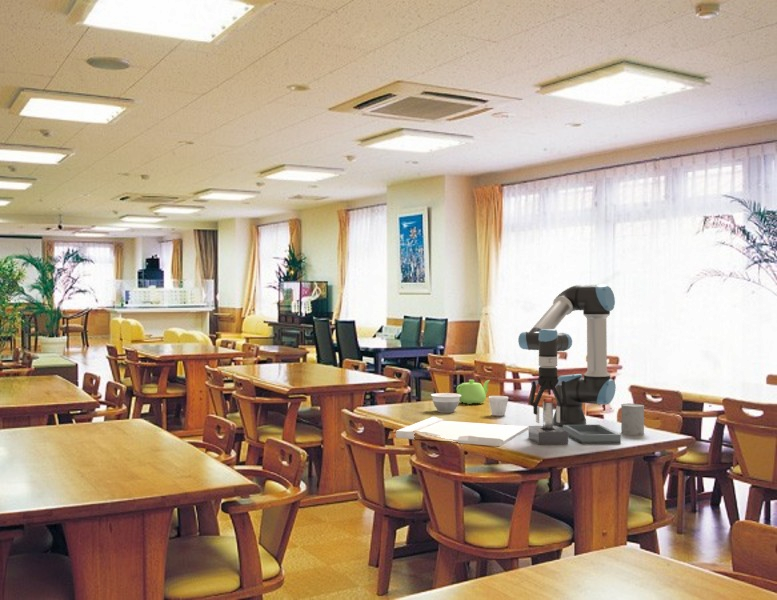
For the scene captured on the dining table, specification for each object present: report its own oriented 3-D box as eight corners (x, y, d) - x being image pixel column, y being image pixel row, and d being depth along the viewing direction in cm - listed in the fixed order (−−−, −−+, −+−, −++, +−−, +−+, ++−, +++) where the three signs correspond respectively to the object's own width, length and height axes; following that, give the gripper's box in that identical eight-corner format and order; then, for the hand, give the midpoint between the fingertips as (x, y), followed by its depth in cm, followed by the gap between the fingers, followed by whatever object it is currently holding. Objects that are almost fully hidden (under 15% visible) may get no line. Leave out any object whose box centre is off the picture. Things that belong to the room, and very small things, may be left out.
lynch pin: (541, 440, 328) (541, 398, 328) (551, 440, 329) (551, 398, 329) (544, 442, 324) (544, 399, 324) (554, 441, 325) (554, 399, 325)
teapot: (483, 400, 456) (483, 377, 456) (497, 403, 442) (497, 380, 442) (449, 402, 447) (449, 379, 447) (462, 406, 433) (462, 381, 433)
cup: (506, 417, 392) (506, 398, 391) (486, 416, 395) (486, 397, 395) (510, 414, 401) (510, 396, 401) (490, 413, 404) (490, 395, 404)
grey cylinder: (645, 435, 340) (645, 406, 340) (622, 434, 342) (622, 406, 342) (642, 431, 349) (642, 403, 349) (620, 431, 351) (620, 403, 351)
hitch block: (528, 437, 334) (528, 425, 334) (556, 437, 335) (556, 425, 335) (538, 444, 318) (538, 432, 318) (568, 444, 319) (568, 432, 319)
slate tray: (562, 432, 346) (562, 424, 346) (598, 432, 348) (598, 424, 347) (581, 443, 320) (581, 435, 320) (620, 443, 322) (620, 434, 322)
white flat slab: (528, 430, 356) (528, 422, 356) (500, 447, 315) (500, 438, 315) (434, 423, 375) (434, 416, 375) (396, 439, 334) (396, 430, 334)
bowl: (467, 411, 411) (467, 395, 411) (445, 414, 401) (445, 397, 401) (446, 408, 423) (446, 392, 423) (424, 411, 413) (424, 394, 413)
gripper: (525, 367, 322) (525, 424, 322) (575, 367, 323) (575, 423, 323) (520, 366, 329) (520, 421, 329) (570, 365, 331) (569, 420, 331)
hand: (547, 422), depth 326 cm, fingers open, 8 cm apart
